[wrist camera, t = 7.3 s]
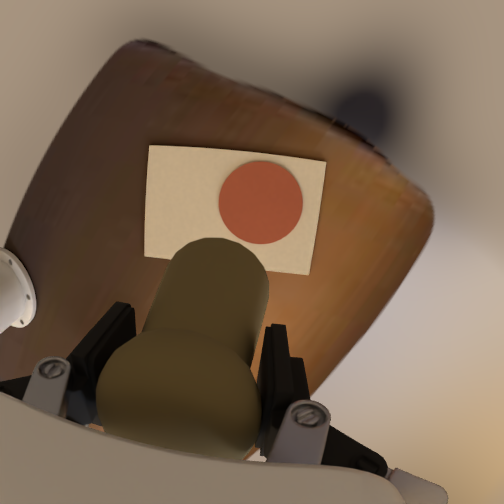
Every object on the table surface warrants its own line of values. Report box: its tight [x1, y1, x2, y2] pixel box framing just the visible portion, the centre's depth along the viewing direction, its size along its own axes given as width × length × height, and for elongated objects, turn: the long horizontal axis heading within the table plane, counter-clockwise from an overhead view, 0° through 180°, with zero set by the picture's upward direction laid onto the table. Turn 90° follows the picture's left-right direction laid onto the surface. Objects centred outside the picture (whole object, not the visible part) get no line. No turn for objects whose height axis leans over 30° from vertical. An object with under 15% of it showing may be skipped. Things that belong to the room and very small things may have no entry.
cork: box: [96, 237, 269, 460], centre depth 12 cm, size 6×6×11 cm
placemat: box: [145, 145, 326, 275], centre depth 31 cm, size 18×12×1 cm, turn 84°
